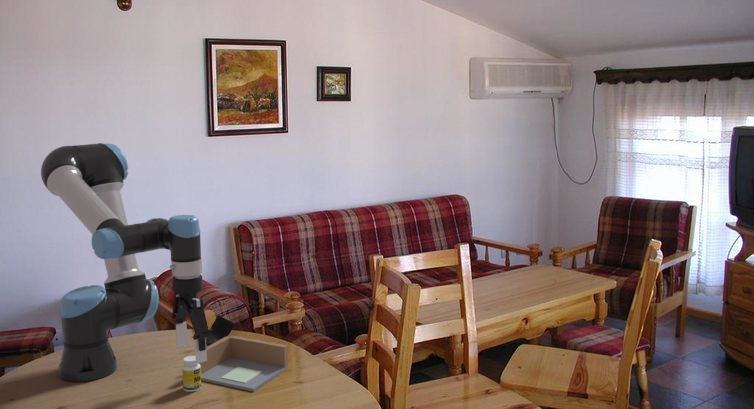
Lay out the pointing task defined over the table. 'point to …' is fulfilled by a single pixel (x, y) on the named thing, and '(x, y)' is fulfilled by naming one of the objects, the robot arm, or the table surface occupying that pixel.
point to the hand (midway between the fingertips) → (191, 354)
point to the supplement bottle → (191, 374)
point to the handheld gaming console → (219, 330)
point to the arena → (243, 362)
